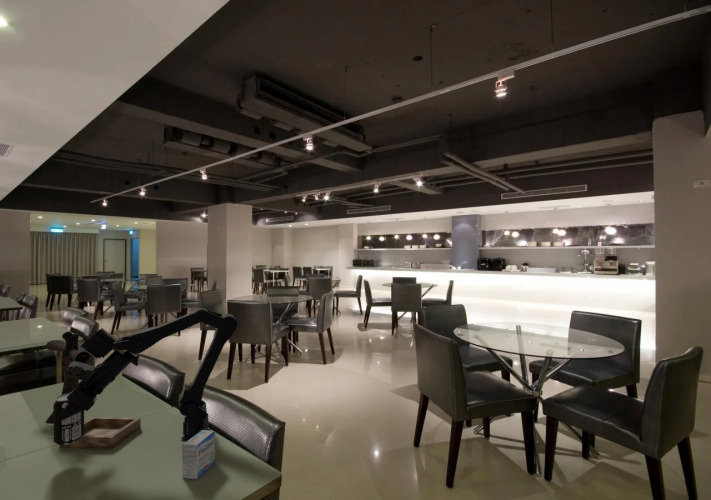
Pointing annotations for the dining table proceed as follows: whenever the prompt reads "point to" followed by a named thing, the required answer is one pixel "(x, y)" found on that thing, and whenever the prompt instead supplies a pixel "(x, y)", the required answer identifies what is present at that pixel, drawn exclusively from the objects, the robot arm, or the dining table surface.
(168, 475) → the dining table surface
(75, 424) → the beverage can
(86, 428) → the tray
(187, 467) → the medicine box
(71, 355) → the flared trumpet-armed statue
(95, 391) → the robot arm
